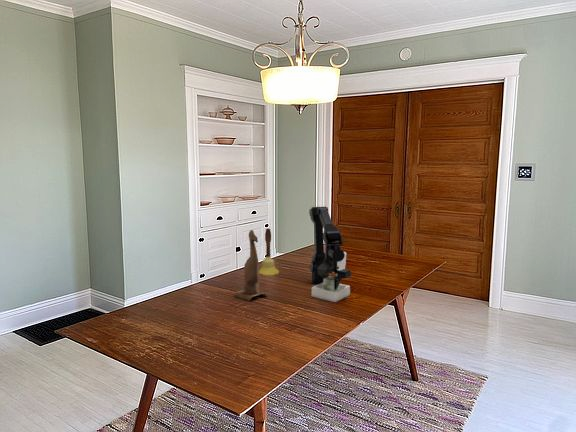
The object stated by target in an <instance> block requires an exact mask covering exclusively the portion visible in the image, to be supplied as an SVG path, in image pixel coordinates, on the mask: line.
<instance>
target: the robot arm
mask: <svg viewBox="0 0 576 432" xmlns="http://www.w3.org/2000/svg"><path fill="white" fill-rule="evenodd" d="M308 213H309V214H308V215H309V216H310V220H311V222H312V224H313V235H314V236H313V237H314V253H313V255H312V257H311V261H310V263H309V271H310V272H311V281H310V282H309V283H310V284H314V285H318V284H321V283H323V282H324V278H327V277H329V275H330V274H335V276H333V277H334V279H335V290H337V288H338V285H339V284H341V282H342V280H343V279H345V280H346V279H347V278H350V277H352V272H351V270H350V269H346V268H345V269H342V270H337V269H339V267H338V266H337V262H340V261H342V260H343V259H344V256H345V254H344V252H345V251H344V250H342V249H341V247H342V246H343V243H344V241H343V236H342V234H341V231H339V228H338V227H337V226H335V225H334V224H333V220H332V218H331V216H330V213H329V208H328V207H327V206H312V207H311V208H309V211H308ZM324 245H325V246H324ZM324 247H325V248H324Z"/></svg>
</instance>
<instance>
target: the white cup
mask: <svg viewBox="0 0 576 432" xmlns="http://www.w3.org/2000/svg"><path fill="white" fill-rule="evenodd" d="M343 252H344V254H345V256H344V259H343V260H342V261H340V262H337V266H338V267H339V269H337V270H342V269H346V264H347V262H346V261H347V252H346V251H343Z"/></svg>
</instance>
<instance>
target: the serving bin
mask: <svg viewBox="0 0 576 432" xmlns="http://www.w3.org/2000/svg"><path fill="white" fill-rule="evenodd" d="M323 286H324V282H323V283H321V284H315V285H314V286H311V297H312V298H317V299H319V300H320V299H321V300H323V301H326V302H327V301H329V302H331V303H337V302H339V301H341V300H342V299H345V298H347V297H349V296H351V286H350V285H347V284H342V283H339V285H338V291H335V292H333V291H329V290H324V289H323Z"/></svg>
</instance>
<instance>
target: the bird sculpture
mask: <svg viewBox="0 0 576 432" xmlns="http://www.w3.org/2000/svg"><path fill="white" fill-rule="evenodd" d="M248 238H249V239H248V240H249V249H250V250H249V251H250V252H249V257H248V258H247V259H246V261H245V263H244V266H243V270H244V271H243V283H244V285H243V288H244V289H242V290H241V289H240V290H238V291H235V293H234V297H235V298H238V299H241V300H243V301H246V302H249V303H250V302H251V299H253V297H256V296H257V297H258V296H259V295H263V296H265V297H268V296H269V295H268V293H267V292H266V291H265V292H264V291H261V290H260V285H259V280H260V274H259V270H260V269H259V256H258V253H257V252H258V251H257V247H256V243H258V241H259V239H258V237H257V236H256V234H255V232H254V230H253V229H251V230H250V231H248Z"/></svg>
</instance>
